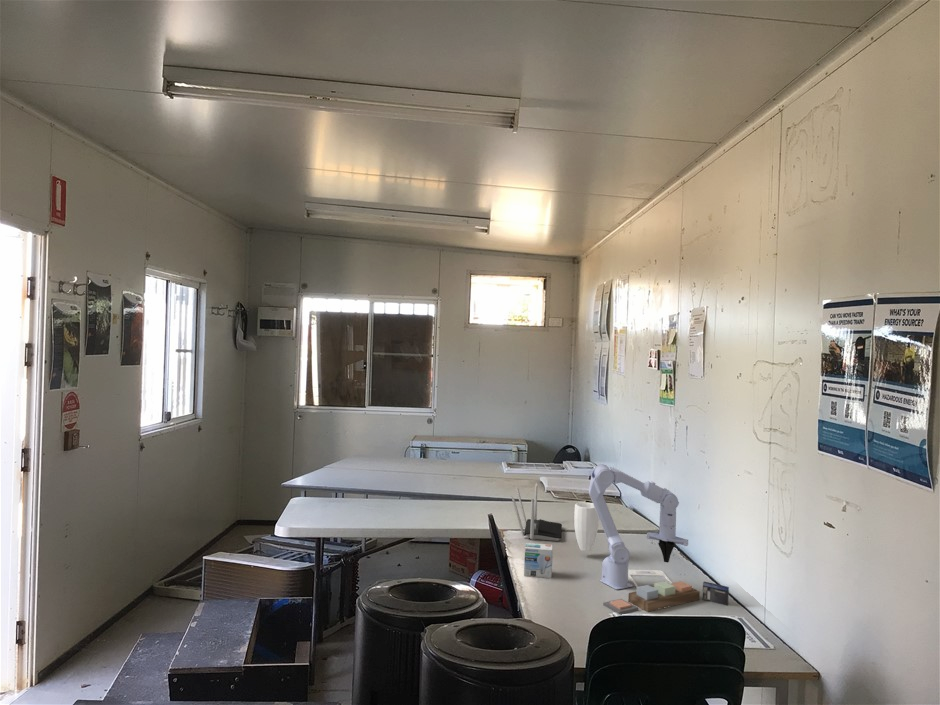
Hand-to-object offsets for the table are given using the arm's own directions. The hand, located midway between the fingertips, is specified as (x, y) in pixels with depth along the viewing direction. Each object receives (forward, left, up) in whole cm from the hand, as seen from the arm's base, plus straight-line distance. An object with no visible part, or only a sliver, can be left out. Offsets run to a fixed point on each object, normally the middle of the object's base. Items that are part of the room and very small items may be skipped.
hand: (666, 561), depth 224 cm
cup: (-39, -6, -10) cm, 41 cm away
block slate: (+9, -18, -8) cm, 22 cm away
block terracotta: (+9, -2, -9) cm, 13 cm away
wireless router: (-74, -6, -10) cm, 75 cm away
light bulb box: (-30, -36, -10) cm, 48 cm away
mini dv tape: (+17, +6, -10) cm, 20 cm away
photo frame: (-8, 0, -10) cm, 13 cm away
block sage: (+9, -10, -8) cm, 16 cm away
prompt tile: (+7, -28, -9) cm, 30 cm away
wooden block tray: (+9, -10, -9) cm, 16 cm away
